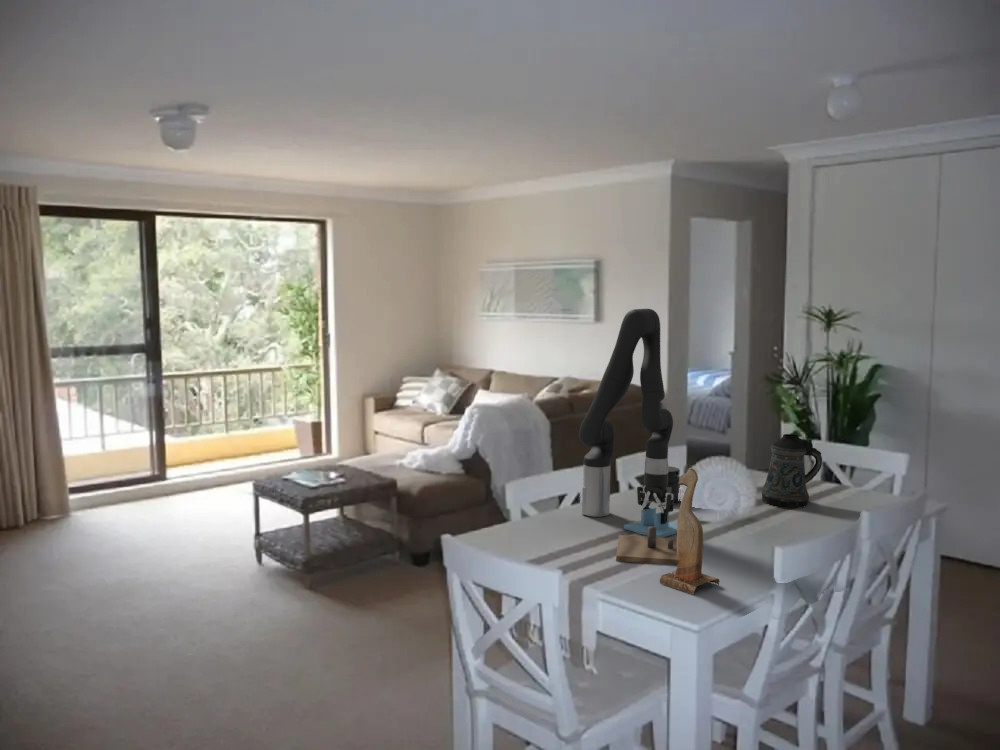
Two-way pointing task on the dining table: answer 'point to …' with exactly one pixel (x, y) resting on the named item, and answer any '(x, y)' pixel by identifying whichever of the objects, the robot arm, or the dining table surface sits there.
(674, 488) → the supplement container
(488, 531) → the dining table surface
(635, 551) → the post board
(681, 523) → the bird sculpture
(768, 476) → the beer stein
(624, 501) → the dining table surface
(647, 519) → the flange plate
